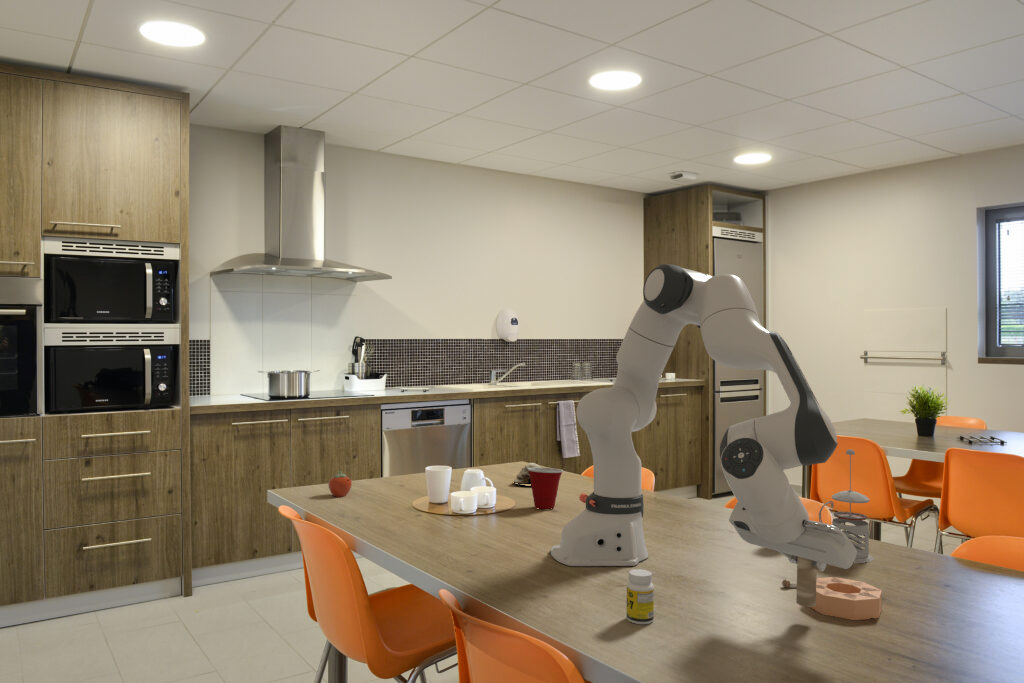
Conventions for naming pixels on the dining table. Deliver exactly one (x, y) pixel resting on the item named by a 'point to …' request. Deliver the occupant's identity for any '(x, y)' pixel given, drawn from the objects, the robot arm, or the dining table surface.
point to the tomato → (340, 485)
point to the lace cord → (788, 584)
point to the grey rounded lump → (525, 474)
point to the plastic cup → (544, 486)
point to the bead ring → (847, 598)
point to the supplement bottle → (640, 597)
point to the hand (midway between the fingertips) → (808, 563)
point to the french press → (852, 520)
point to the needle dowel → (806, 582)
